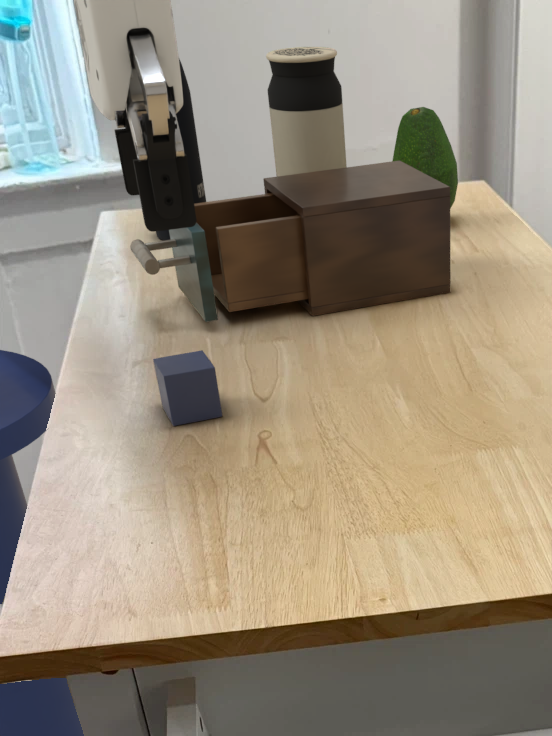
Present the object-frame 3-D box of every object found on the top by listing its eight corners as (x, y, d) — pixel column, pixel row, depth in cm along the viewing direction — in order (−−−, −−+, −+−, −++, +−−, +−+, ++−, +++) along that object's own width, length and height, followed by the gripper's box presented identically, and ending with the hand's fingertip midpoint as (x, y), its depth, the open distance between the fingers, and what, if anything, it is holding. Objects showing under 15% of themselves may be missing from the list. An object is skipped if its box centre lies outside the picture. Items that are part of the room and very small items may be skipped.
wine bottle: (152, 230, 122) (94, -88, 103) (205, 223, 124) (158, -91, 104) (161, 244, 117) (102, -86, 98) (216, 237, 119) (168, -89, 99)
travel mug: (307, 248, 114) (290, 59, 103) (269, 234, 119) (249, 52, 108) (364, 234, 118) (354, 50, 106) (325, 220, 123) (311, 43, 111)
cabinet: (312, 316, 97) (302, 207, 91) (274, 279, 106) (263, 178, 100) (450, 292, 101) (450, 186, 95) (403, 258, 110) (399, 160, 104)
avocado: (389, 216, 123) (384, 102, 116) (452, 212, 124) (452, 98, 116) (396, 234, 117) (392, 115, 110) (463, 230, 118) (464, 111, 110)
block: (173, 426, 79) (163, 376, 77) (162, 407, 82) (152, 358, 80) (222, 416, 80) (214, 367, 78) (210, 398, 83) (202, 349, 81)
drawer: (160, 329, 93) (143, 239, 88) (136, 293, 101) (119, 209, 96) (341, 299, 98) (335, 211, 93) (305, 267, 106) (297, 185, 101)
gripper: (25, -122, 62) (90, 186, 73) (43, -120, 49) (118, 252, 61) (148, -127, 64) (193, 175, 75) (196, -127, 51) (242, 236, 62)
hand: (160, 209), depth 68 cm, fingers open, 9 cm apart
